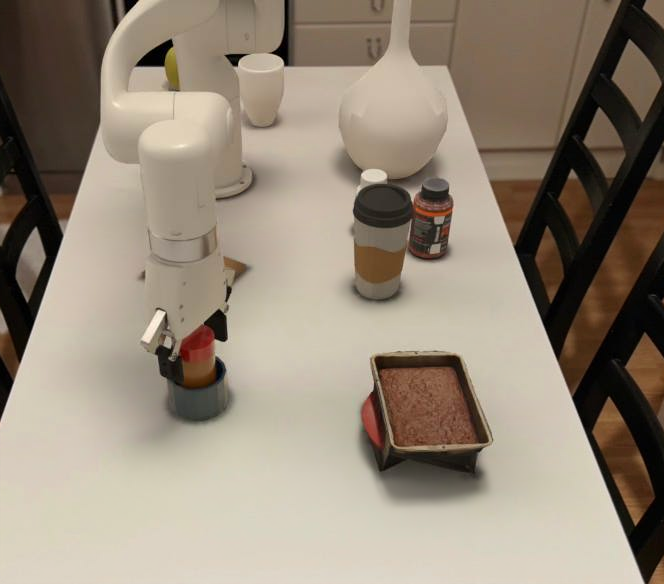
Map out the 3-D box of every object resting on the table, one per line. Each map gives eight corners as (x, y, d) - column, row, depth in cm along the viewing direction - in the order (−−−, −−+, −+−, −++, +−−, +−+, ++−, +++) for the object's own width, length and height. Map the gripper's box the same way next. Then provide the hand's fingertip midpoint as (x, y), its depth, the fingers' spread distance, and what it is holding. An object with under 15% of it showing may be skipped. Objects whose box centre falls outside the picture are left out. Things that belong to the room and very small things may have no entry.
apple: (159, 92, 179) (159, 37, 175) (170, 87, 186) (170, 34, 182) (199, 95, 178) (199, 40, 174) (208, 90, 185) (209, 37, 181)
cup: (157, 407, 116) (153, 377, 112) (192, 374, 120) (189, 344, 117) (205, 428, 113) (202, 399, 110) (239, 394, 118) (237, 364, 114)
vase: (332, 142, 166) (339, -32, 146) (432, 140, 167) (453, -33, 146) (340, 194, 153) (349, 11, 133) (449, 191, 154) (474, 9, 133)
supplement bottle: (445, 262, 139) (454, 196, 131) (406, 257, 140) (413, 192, 132) (448, 240, 143) (457, 175, 135) (410, 236, 144) (417, 171, 136)
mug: (285, 131, 169) (284, 71, 162) (240, 132, 169) (237, 71, 161) (283, 102, 178) (283, 44, 170) (240, 103, 178) (238, 44, 170)
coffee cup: (411, 277, 136) (421, 187, 126) (397, 309, 130) (406, 218, 120) (357, 266, 138) (362, 177, 128) (341, 298, 132) (345, 207, 122)
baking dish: (469, 407, 118) (472, 341, 113) (495, 496, 104) (500, 425, 98) (358, 415, 119) (355, 349, 113) (368, 504, 104) (366, 433, 99)
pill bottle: (379, 219, 148) (383, 163, 141) (393, 236, 144) (398, 180, 137) (348, 225, 146) (351, 169, 140) (361, 242, 143) (365, 186, 136)
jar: (169, 402, 116) (162, 340, 109) (193, 379, 119) (188, 318, 112) (203, 417, 114) (197, 355, 107) (226, 393, 117) (223, 332, 110)
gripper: (201, 192, 107) (210, 311, 119) (105, 264, 96) (125, 387, 108) (255, 210, 104) (259, 330, 116) (162, 287, 93) (176, 410, 105)
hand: (194, 357), depth 112 cm, fingers open, 8 cm apart
